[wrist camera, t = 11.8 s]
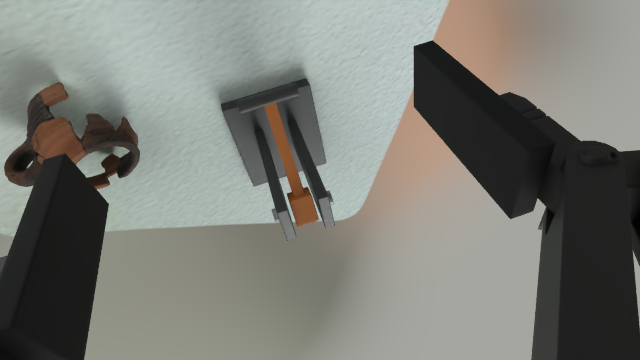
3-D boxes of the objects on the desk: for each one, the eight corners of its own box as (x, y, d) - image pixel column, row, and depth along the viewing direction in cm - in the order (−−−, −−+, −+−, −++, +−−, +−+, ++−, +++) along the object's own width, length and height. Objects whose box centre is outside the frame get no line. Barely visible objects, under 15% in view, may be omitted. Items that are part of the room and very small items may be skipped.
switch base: (220, 104, 43) (237, 194, 33) (306, 78, 44) (349, 157, 34) (252, 179, 52) (273, 270, 41) (323, 156, 52) (361, 239, 42)
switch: (236, 99, 36) (235, 102, 33) (293, 81, 36) (297, 83, 34) (279, 222, 40) (281, 232, 38) (329, 205, 40) (335, 214, 38)
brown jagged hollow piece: (80, 58, 37) (118, 120, 34) (131, 108, 46) (164, 161, 43) (-42, 128, 35) (-11, 199, 32) (36, 166, 44) (65, 224, 41)
